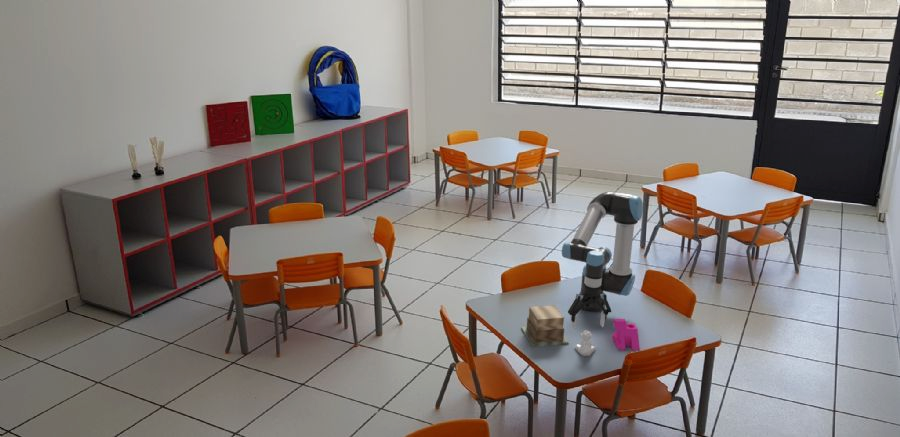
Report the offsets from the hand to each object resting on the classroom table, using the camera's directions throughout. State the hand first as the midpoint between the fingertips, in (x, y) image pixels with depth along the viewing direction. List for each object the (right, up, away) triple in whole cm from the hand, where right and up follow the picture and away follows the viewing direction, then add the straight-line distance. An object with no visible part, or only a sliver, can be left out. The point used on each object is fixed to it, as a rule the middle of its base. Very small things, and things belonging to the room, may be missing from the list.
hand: (588, 326), depth 328 cm
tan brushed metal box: (-17, -7, +19) cm, 27 cm away
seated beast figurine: (0, -13, +5) cm, 14 cm away
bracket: (+21, -10, +14) cm, 27 cm away
